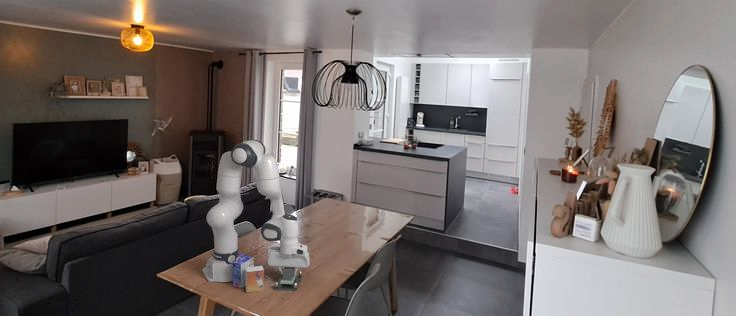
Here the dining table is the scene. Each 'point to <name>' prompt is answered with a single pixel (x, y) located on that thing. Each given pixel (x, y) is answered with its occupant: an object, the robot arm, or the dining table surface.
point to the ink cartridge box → (241, 270)
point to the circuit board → (288, 275)
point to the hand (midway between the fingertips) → (288, 274)
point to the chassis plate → (289, 286)
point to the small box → (254, 279)
